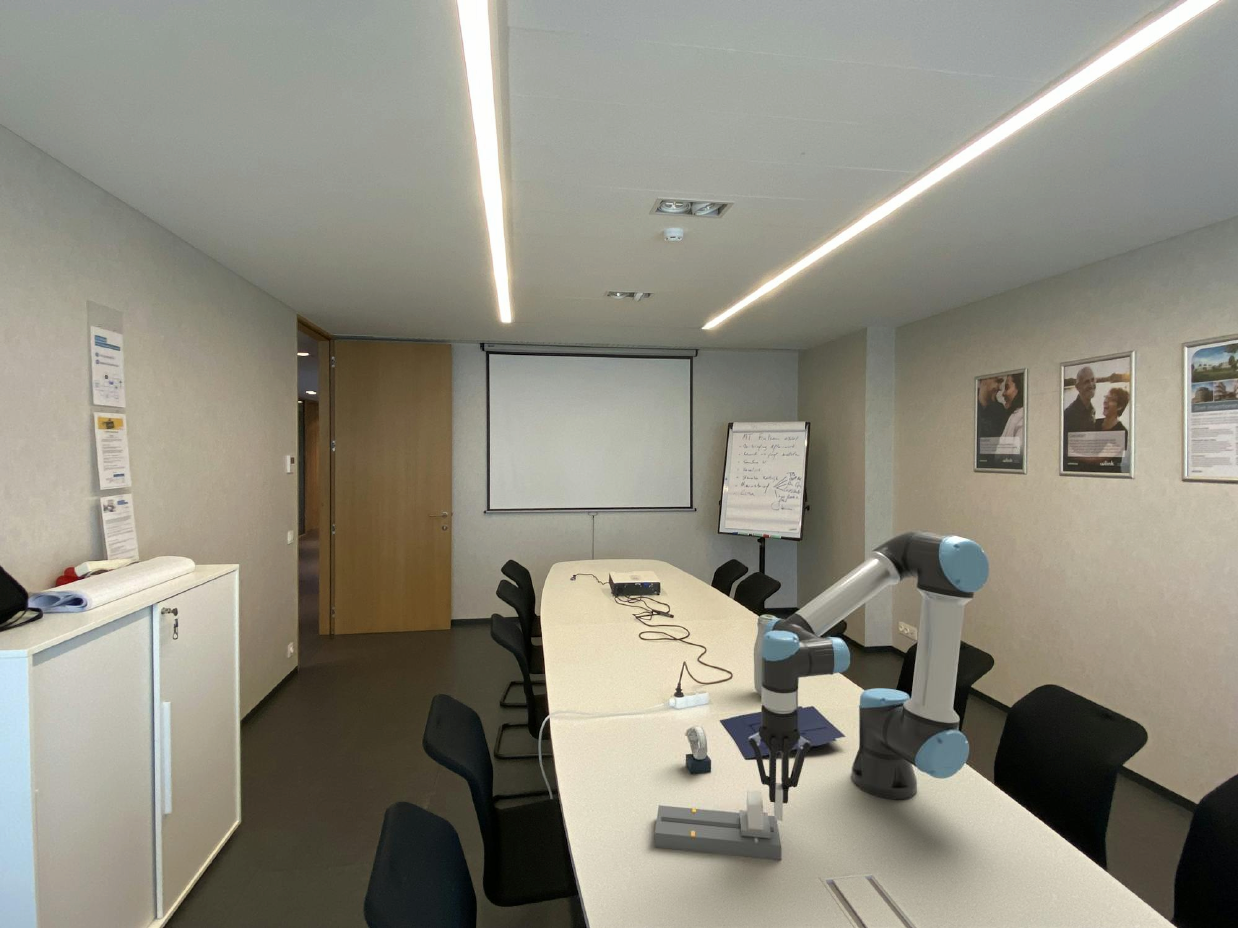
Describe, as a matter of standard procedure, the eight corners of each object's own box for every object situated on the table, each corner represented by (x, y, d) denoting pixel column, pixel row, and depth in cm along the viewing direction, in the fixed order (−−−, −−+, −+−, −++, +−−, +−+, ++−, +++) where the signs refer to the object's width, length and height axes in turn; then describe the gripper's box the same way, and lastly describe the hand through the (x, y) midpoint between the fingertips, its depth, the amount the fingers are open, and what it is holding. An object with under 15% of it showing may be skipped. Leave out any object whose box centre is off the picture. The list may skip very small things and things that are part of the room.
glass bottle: (780, 690, 209) (780, 611, 209) (785, 703, 199) (786, 619, 199) (751, 689, 210) (752, 610, 210) (755, 701, 200) (755, 618, 200)
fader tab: (767, 817, 131) (767, 789, 131) (770, 838, 124) (770, 808, 124) (739, 815, 132) (739, 787, 132) (741, 835, 125) (741, 805, 125)
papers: (850, 749, 166) (849, 736, 166) (747, 768, 162) (745, 755, 162) (811, 711, 190) (809, 700, 190) (720, 728, 186) (719, 716, 186)
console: (775, 829, 132) (776, 815, 132) (781, 859, 122) (781, 844, 122) (658, 818, 136) (658, 804, 136) (654, 846, 126) (654, 831, 126)
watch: (702, 759, 162) (703, 719, 162) (713, 775, 154) (713, 733, 154) (683, 762, 161) (683, 721, 161) (692, 777, 153) (693, 735, 153)
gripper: (808, 701, 129) (807, 809, 130) (747, 697, 131) (745, 803, 132) (814, 716, 122) (813, 830, 122) (749, 711, 124) (748, 824, 124)
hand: (778, 816), depth 127 cm, fingers closed
